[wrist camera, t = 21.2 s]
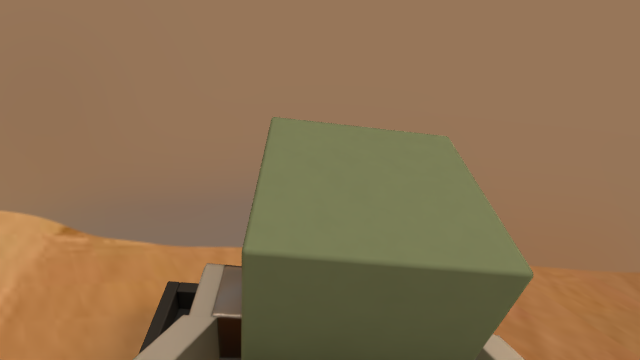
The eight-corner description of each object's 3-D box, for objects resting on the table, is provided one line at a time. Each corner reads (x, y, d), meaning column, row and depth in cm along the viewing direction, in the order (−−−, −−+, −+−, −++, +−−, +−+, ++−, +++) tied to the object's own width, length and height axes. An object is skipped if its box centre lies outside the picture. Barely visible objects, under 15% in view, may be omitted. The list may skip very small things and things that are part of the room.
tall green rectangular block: (240, 482, 11) (240, 251, 5) (259, 341, 15) (271, 115, 9) (386, 486, 11) (536, 275, 6) (368, 348, 15) (448, 135, 9)
